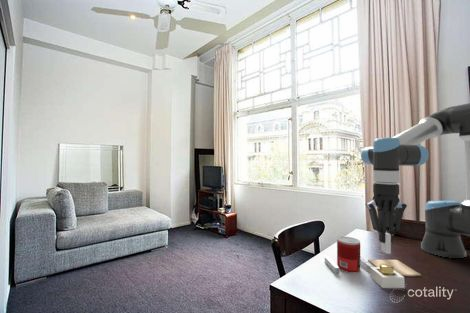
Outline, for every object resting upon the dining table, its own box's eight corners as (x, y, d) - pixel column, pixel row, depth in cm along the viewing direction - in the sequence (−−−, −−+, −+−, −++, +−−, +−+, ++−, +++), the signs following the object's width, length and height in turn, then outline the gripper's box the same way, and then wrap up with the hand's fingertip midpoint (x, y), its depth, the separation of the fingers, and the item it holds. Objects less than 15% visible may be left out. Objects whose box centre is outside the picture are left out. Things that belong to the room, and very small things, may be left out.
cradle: (360, 262, 93) (360, 256, 93) (375, 274, 83) (375, 267, 83) (324, 262, 93) (324, 256, 93) (335, 274, 83) (335, 267, 83)
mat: (397, 261, 94) (397, 259, 94) (420, 276, 82) (420, 274, 82) (367, 261, 94) (367, 259, 94) (387, 276, 82) (387, 274, 82)
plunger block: (389, 276, 81) (389, 267, 81) (404, 288, 74) (404, 277, 74) (370, 276, 81) (370, 267, 81) (383, 288, 74) (382, 277, 74)
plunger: (388, 272, 80) (388, 263, 80) (396, 278, 76) (396, 268, 76) (377, 272, 80) (376, 263, 80) (384, 278, 76) (384, 268, 76)
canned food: (363, 274, 83) (363, 244, 83) (339, 272, 85) (339, 242, 85) (356, 264, 91) (356, 237, 91) (335, 262, 92) (335, 235, 92)
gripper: (397, 182, 82) (397, 247, 82) (360, 181, 82) (360, 247, 82) (413, 184, 74) (413, 256, 74) (373, 184, 74) (373, 256, 74)
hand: (385, 251), depth 78 cm, fingers closed
